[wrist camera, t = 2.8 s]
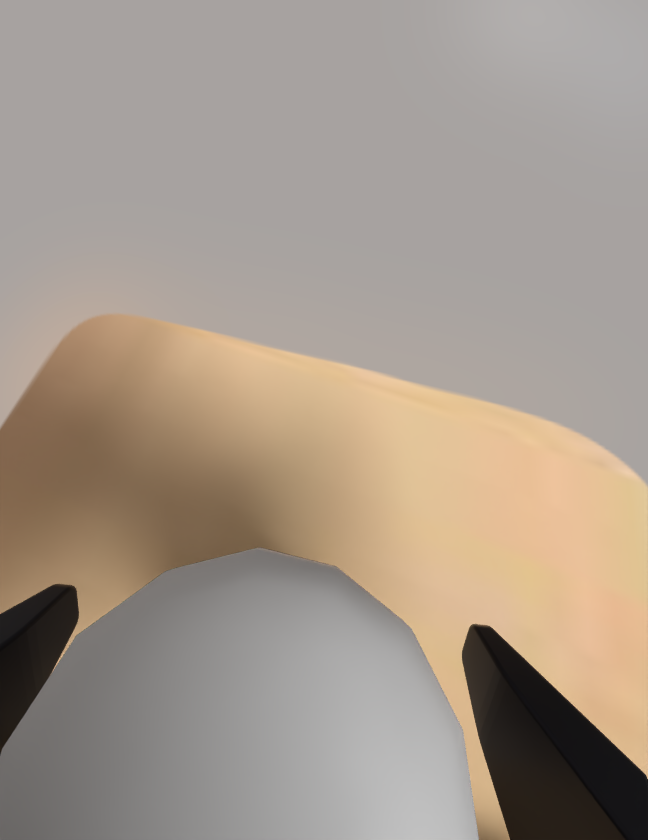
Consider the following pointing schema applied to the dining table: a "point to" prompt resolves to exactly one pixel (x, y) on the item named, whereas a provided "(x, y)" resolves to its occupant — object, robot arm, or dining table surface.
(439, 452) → the dining table surface
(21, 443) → the dining table surface
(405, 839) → the salt shaker
